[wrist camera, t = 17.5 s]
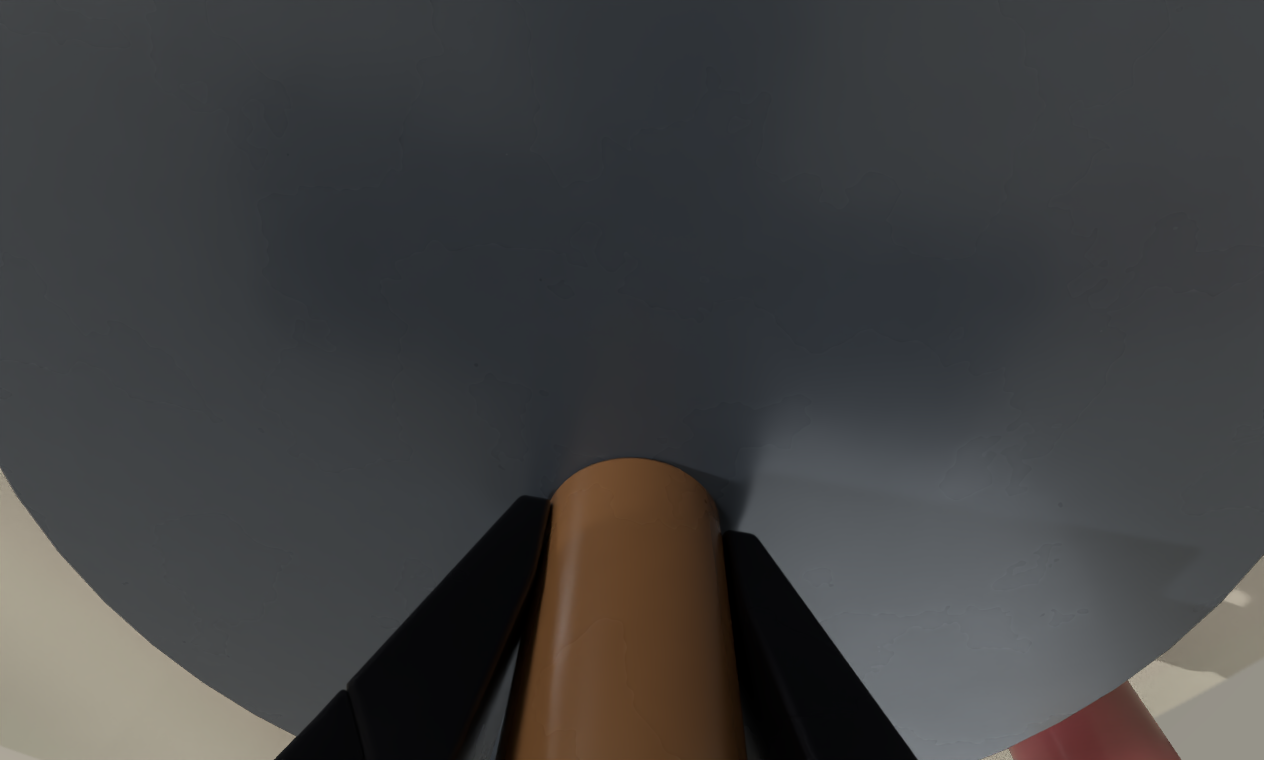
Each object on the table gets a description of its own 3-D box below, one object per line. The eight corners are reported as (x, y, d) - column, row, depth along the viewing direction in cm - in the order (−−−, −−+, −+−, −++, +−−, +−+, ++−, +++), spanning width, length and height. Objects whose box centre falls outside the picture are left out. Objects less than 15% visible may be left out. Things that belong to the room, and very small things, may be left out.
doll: (935, 621, 21) (1123, 1052, 13) (900, 545, 19) (1093, 989, 11) (1063, 585, 20) (1365, 1031, 11) (1040, 501, 18) (1377, 957, 10)
